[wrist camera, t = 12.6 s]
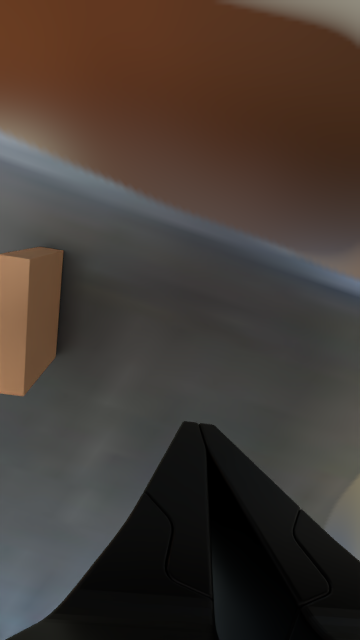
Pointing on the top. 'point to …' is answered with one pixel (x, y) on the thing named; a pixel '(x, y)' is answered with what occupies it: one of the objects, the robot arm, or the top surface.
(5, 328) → the tray
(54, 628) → the robot arm
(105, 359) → the top surface
